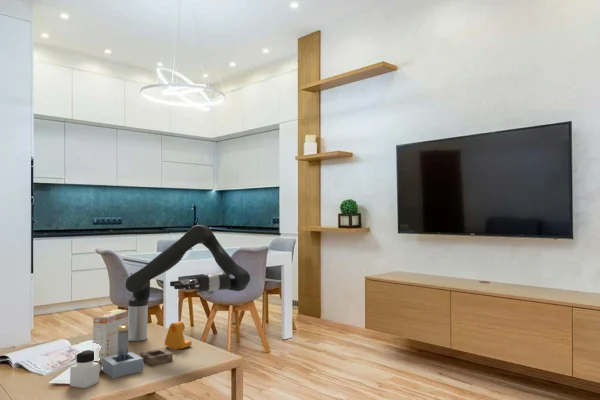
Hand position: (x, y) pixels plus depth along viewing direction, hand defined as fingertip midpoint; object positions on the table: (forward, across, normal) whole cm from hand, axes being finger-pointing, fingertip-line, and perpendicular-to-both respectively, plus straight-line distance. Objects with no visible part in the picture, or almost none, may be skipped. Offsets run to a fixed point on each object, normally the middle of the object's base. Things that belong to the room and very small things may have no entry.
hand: (172, 285), depth 198 cm
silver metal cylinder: (+21, +7, +30) cm, 38 cm away
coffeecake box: (+24, -14, +32) cm, 42 cm away
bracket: (-7, -16, +32) cm, 37 cm away
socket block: (+6, 0, +32) cm, 33 cm away
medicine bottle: (+35, +16, +32) cm, 50 cm away
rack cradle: (+21, +7, +32) cm, 39 cm away
